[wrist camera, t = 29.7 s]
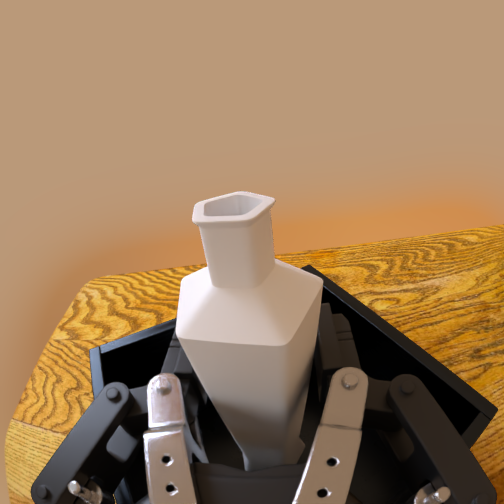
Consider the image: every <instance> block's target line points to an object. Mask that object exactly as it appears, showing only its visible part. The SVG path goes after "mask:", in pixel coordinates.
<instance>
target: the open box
mask: <svg viewBox="0 0 504 504" xmlns="http://www.w3.org/2000/svg"><path fill="white" fill-rule="evenodd" d="M301 269H302V270H304V271H306V272H309V273H311V274H314V275H316V276H318V277H320V278H322V280H323V289H322V298H321V304H323V303H329V304H330V308H331V312H332V314H343V316H344V317H345V318H346V319H347V320H348V321H349V324H350V328H351V332H352V335H353V340H354V343H355V347H356V351H357V354H358V358H359V362H360V366H361V369H362V370H363V372H364V373H365V374H366V375H368V376H369V377H371V378H373V379H376V380H383V381H392V380H393V379H394V378H395V377H397V376H399V375H402V374H410V375H414V376H416V377H417V378H419V379H420V380H421V381H422V383H423V384H424V385H425V387H426V388H427V389H428V391H429V392H430V394H431V395H432V396H433V398H434V399H435V400H436V402H437V403H438V405H439V406H440V407H441V409H442V410H443V411H444V413H445V414H446V416H447V417H448V419H449V420H450V421H451V423H452V424H453V426H454V427H455V429H456V430H457V431H458V433H459V434H460V436H461V437H462V439H463V440H464V442H465V443H466V445H467V446H468V448H469V449H470V448H471V447H472V446H473V444H474V443H475V442H476V441H477V439H478V438H479V437H480V435H481V434H482V433H483V431H484V430H485V429H486V427H487V426H488V424H489V423H490V421H491V420H492V419H493V417H494V416H495V414H496V413H497V411H498V408H497V407H496V406H494V405H493V404H492V403H491V402H489V401H488V400H487V399H486V398H484V397H483V396H482V395H481V394H479V393H478V392H477V391H476V390H474V389H473V388H472V387H471V386H469V385H468V384H467V383H466V382H464V381H463V380H462V379H461V378H459V377H458V376H457V375H456V374H454V373H453V372H452V371H450V370H449V369H448V368H447V367H445V366H444V365H443V364H442V363H440V362H439V361H438V360H436V359H435V358H434V357H432V356H431V355H430V354H429V353H427V352H426V351H425V350H423V349H422V348H421V347H420V346H418V345H417V344H416V343H414V342H413V341H412V340H410V339H409V338H408V337H406V336H405V335H404V334H403V333H401V332H400V331H399V330H397V329H396V328H395V327H393V326H392V325H391V324H389V323H388V322H387V321H385V320H384V319H383V318H381V317H380V316H379V315H377V314H376V313H375V312H373V311H372V310H371V309H369V308H368V307H367V306H365V305H364V304H363V303H361V302H360V301H359V300H357V299H356V298H354V297H353V296H352V295H350V294H349V293H348V292H346V291H345V290H344V289H342V288H341V287H340V286H338V285H337V284H335V283H334V282H333V281H331V280H330V279H329V278H327V277H326V276H324V275H323V274H322V273H320V272H319V271H318V270H316V269H315V268H313V267H312V266H311V265H307V266H305V267H302V268H301ZM176 321H177V318H175V319H172V320H169V321H167V322H164V323H161V324H159V325H156V326H153V327H150V328H148V329H145V330H142V331H140V332H137V333H134V334H131V335H129V336H126V337H123V338H120V339H117V340H115V341H112V342H109V343H106V344H103V345H101V346H98V347H95V348H92V349H90V350H89V355H90V368H91V378H92V388H93V396H94V399H95V398H96V397H97V395H98V394H99V393H100V391H101V390H102V389H103V388H104V387H105V386H106V385H108V384H110V383H113V382H121V383H123V384H125V385H126V386H127V387H128V389H133V388H138V387H143V386H146V385H148V383H149V381H150V380H151V379H152V378H153V377H154V376H156V375H158V374H160V373H161V370H162V366H163V363H164V360H165V357H166V354H167V351H168V348H169V347H170V346H169V345H170V342H171V340H172V336H173V334H174V331H175V329H176ZM325 403H326V402H321V403H320V402H319V393H318V384H317V375H316V367H315V358H313V364H312V370H311V376H310V382H309V388H308V394H307V399H306V405H305V410H304V415H303V420H302V425H301V430H300V435H299V437H300V439H301V440H302V441H303V443H304V444H305V448H304V450H303V452H302V454H301V456H300V458H299V460H298V461H297V463H296V464H304V463H307V460H308V457H309V454H310V451H311V448H312V444H313V441H314V438H315V435H316V431H317V428H318V425H319V424H320V421H321V418H322V414H323V410H324V407H325ZM197 415H198V420H199V425H200V430H201V435H202V440H203V445H204V450H205V453H206V456H207V458H208V461H209V463H213V464H222V465H226V466H229V467H233V468H237V469H240V470H244V471H245V466H244V459H243V452H242V450H241V449H240V447H239V446H238V444H237V443H236V441H235V440H234V438H233V436H232V435H231V433H230V432H229V430H228V428H227V427H226V425H225V423H224V422H223V420H222V418H221V417H220V415H219V413H218V412H217V410H216V408H215V407H214V405H213V403H212V401H211V400H210V398H209V396H207V402H206V405H198V408H197ZM361 430H362V435H361V441H360V446H359V450H358V455H357V460H356V464H355V468H354V472H353V476H352V480H351V484H350V488H349V491H350V492H351V493H352V494H353V495H354V496H356V497H357V498H358V499H359V500H360V501H361V502H362V503H363V504H405V503H406V501H407V500H408V498H409V497H410V496H411V495H412V494H411V492H410V490H409V488H408V486H407V485H406V483H405V481H404V479H403V477H402V476H401V474H400V472H399V470H398V468H397V467H396V465H395V463H394V461H393V459H392V458H391V456H390V454H389V452H388V450H387V449H386V447H385V445H384V443H383V442H382V440H381V438H380V436H379V434H378V433H377V431H376V429H368V428H361ZM147 494H148V486H147V477H146V466H145V455H144V446H143V447H142V449H141V450H140V452H139V454H138V455H137V457H136V458H135V460H134V462H133V463H132V465H131V466H130V468H129V470H128V471H127V473H126V474H125V476H124V478H123V479H122V481H121V482H120V484H119V486H118V487H117V489H116V490H115V492H114V497H115V500H116V504H136V503H137V502H138V501H140V500H141V499H142V498H143V497H145V496H146V495H147Z"/></svg>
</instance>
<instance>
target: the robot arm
mask: <svg viewBox="0 0 504 504" xmlns="http://www.w3.org/2000/svg"><path fill="white" fill-rule="evenodd" d="M169 346H170V347H169V348H168V351H167V354H166V357H165V360H164V363H163V366H162V370H161V373H160V374H158V375H156V376H154V377H153V378H152V379H151V380H150V381H149V383H148V385H146V386H143V387H138V388H133V389H128V387H127V386H126V385H125V384H123V383H121V382H113V383H110V384H108V385H106V386H105V387H104V388H103V389H102V390H101V391H100V393H99V394H98V395H97V397H96V398H95V399H94V401H93V402H92V403H91V405H90V406H89V407H88V409H87V410H86V411H85V413H84V414H83V415H82V417H81V418H80V419H79V421H78V422H77V423H76V425H75V426H74V427H73V429H72V430H71V431H70V433H69V434H68V435H67V437H66V438H65V439H64V441H63V442H62V444H61V445H60V446H59V448H58V449H57V450H56V452H55V453H54V455H53V456H52V457H51V459H50V460H49V462H48V463H47V464H46V466H45V467H44V469H43V470H42V471H41V473H40V474H39V476H38V477H37V479H36V480H35V481H34V483H33V485H32V487H31V497H32V499H33V501H34V503H35V504H115V499H114V496H113V494H114V492H115V490H116V489H117V487H118V486H119V484H120V482H121V481H122V479H123V478H124V476H125V474H126V473H127V471H128V470H129V468H130V466H131V465H132V463H133V462H134V460H135V458H136V457H137V455H138V454H139V452H140V450H141V449H142V447H143V446H144V455H145V466H146V477H147V486H148V494H147V495H146V496H145V497H143V498H142V499H141V500H140V501H138V502H137V503H136V504H363V503H362V502H361V501H360V500H359V499H358V498H357V497H356V496H354V495H353V494H352V493H351V492H350V491H349V488H350V484H351V480H352V476H353V472H354V468H355V464H356V460H357V455H358V450H359V446H360V441H361V435H362V430H361V428H368V429H376V431H377V433H378V434H379V436H380V438H381V440H382V442H383V443H384V445H385V447H386V449H387V450H388V452H389V454H390V456H391V458H392V459H393V461H394V463H395V465H396V467H397V468H398V470H399V472H400V474H401V476H402V477H403V479H404V481H405V483H406V485H407V486H408V488H409V490H410V492H411V494H412V495H411V496H410V497H409V498H408V500H407V501H406V503H405V504H496V500H497V493H496V490H495V488H494V487H493V485H492V483H491V482H490V480H489V479H488V477H487V475H486V474H485V472H484V471H483V469H482V467H481V466H480V464H479V463H478V461H477V460H476V458H475V457H474V455H473V454H472V452H471V451H470V449H469V448H468V446H467V445H466V443H465V442H464V440H463V439H462V437H461V436H460V434H459V433H458V431H457V430H456V429H455V427H454V426H453V424H452V423H451V421H450V420H449V419H448V417H447V416H446V414H445V413H444V411H443V410H442V409H441V407H440V406H439V405H438V403H437V402H436V400H435V399H434V398H433V396H432V395H431V394H430V392H429V391H428V389H427V388H426V387H425V385H424V384H423V383H422V381H421V380H420V379H419V378H417V377H416V376H414V375H410V374H402V375H399V376H397V377H395V378H394V379H393V380H392V381H383V380H376V379H373V378H371V377H369V376H368V375H366V374H365V373H364V372H363V370H362V369H361V366H360V362H359V358H358V354H357V351H356V347H355V343H354V340H353V335H352V332H351V328H350V324H349V321H348V320H347V319H346V318H345V317H344V316H343V314H332V312H331V308H330V304H329V303H323V304H321V307H320V315H319V323H318V330H317V337H316V344H315V351H314V358H315V367H316V375H317V384H318V393H319V402H320V403H321V402H326V403H325V407H324V410H323V414H322V418H321V421H320V424H319V425H318V428H317V431H316V435H315V438H314V441H313V444H312V448H311V451H310V454H309V457H308V460H307V463H304V464H288V465H277V466H273V467H268V468H264V469H260V470H255V471H244V470H240V469H237V468H233V467H229V466H226V465H222V464H213V463H209V461H208V458H207V456H206V453H205V450H204V445H203V440H202V435H201V430H200V425H199V420H198V415H197V408H198V405H206V402H207V396H208V394H207V393H206V391H205V389H204V387H203V385H202V384H201V382H200V380H199V378H198V376H197V374H196V373H195V371H194V369H193V367H192V365H191V363H190V361H189V359H188V357H187V355H186V353H185V351H184V349H183V348H182V346H181V344H180V342H179V340H178V337H177V335H176V329H175V331H174V334H173V336H172V340H171V342H170V345H169Z"/></svg>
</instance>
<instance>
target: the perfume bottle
mask: <svg viewBox="0 0 504 504" xmlns="http://www.w3.org/2000/svg"><path fill="white" fill-rule="evenodd" d="M274 203H275V199H274V198H272V197H268V196H264V195H259V194H255V193H250V192H245V191H239V192H234V193H230V194H226V195H222V196H218V197H214V198H211V199H207V200H203V201H200V202H198V203H196V204H195V206H194V211H193V217H192V221H193V222H194V224H196V225H197V226H199V228H200V233H201V237H202V242H203V247H204V252H205V257H206V261H207V267H205V268H203V269H201V270H198V271H196V272H194V273H192V274H190V275H187V276H185V277H184V278H183V279H182V281H181V288H180V296H179V304H178V312H177V321H176V335H177V337H178V340H179V342H180V344H181V346H182V348H183V349H184V351H185V353H186V355H187V357H188V359H189V361H190V363H191V365H192V367H193V369H194V371H195V373H196V374H197V376H198V378H199V380H200V382H201V384H202V385H203V387H204V389H205V391H206V393H207V394H208V396H209V398H210V400H211V401H212V403H213V405H214V407H215V408H216V410H217V412H218V413H219V415H220V417H221V418H222V420H223V422H224V423H225V425H226V427H227V428H228V430H229V432H230V433H231V435H232V436H233V438H234V440H235V441H236V443H237V444H238V446H239V447H240V449H241V450H242V452H243V459H244V466H245V471H255V470H260V469H264V468H268V467H273V466H277V465H288V464H296V463H297V461H298V460H299V458H300V456H301V454H302V452H303V450H304V448H305V444H304V443H303V441H302V440H301V439H300V437H299V435H300V430H301V425H302V420H303V415H304V410H305V405H306V399H307V394H308V388H309V382H310V376H311V370H312V364H313V358H314V351H315V344H316V337H317V330H318V323H319V315H320V307H321V298H322V289H323V280H322V278H320V277H318V276H316V275H314V274H311V273H309V272H306V271H304V270H302V269H299V268H297V267H294V266H292V265H290V264H287V263H285V262H282V261H280V260H278V259H275V256H274V245H273V233H272V223H271V213H270V209H271V207H272V206H273V205H274Z"/></svg>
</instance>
